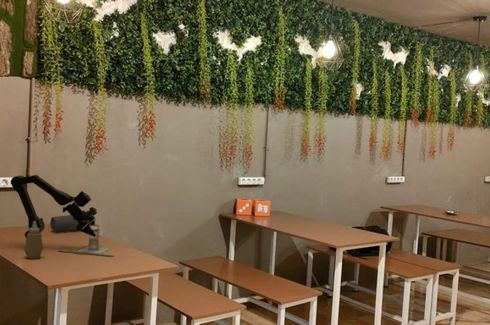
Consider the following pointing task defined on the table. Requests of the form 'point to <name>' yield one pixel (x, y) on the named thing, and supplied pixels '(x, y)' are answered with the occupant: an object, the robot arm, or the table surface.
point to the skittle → (94, 238)
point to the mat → (86, 250)
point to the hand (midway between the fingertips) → (96, 234)
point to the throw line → (87, 253)
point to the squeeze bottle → (33, 242)
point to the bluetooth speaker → (63, 223)
